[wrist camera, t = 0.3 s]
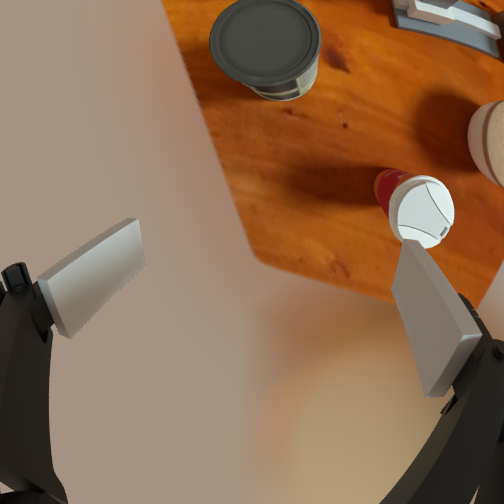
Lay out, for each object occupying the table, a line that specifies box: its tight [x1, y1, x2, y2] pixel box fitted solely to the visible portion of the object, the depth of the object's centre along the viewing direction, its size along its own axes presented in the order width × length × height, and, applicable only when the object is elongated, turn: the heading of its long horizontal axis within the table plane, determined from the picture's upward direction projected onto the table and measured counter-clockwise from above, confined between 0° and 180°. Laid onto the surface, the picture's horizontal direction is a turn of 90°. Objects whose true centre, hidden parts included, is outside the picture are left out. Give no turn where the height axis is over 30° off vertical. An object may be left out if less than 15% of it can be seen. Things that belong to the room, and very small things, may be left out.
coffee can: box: [209, 0, 321, 101], centre depth 25 cm, size 10×10×14 cm
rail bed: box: [391, 0, 501, 58], centre depth 19 cm, size 9×19×3 cm, turn 94°
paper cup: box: [373, 168, 454, 248], centre depth 29 cm, size 8×8×14 cm
